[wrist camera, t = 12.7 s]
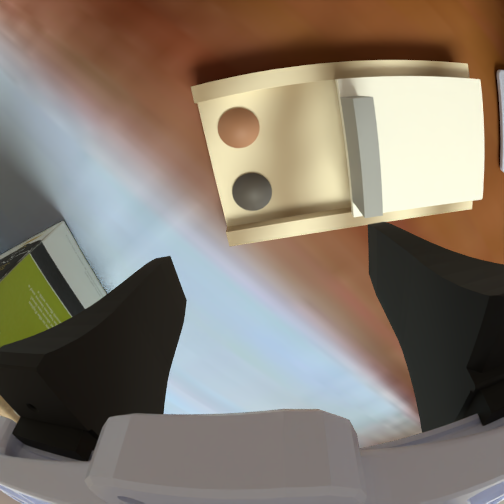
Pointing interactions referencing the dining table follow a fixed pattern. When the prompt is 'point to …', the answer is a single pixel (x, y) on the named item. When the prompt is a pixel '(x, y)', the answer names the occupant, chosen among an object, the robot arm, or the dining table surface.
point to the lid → (411, 141)
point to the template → (293, 147)
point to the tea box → (43, 288)
